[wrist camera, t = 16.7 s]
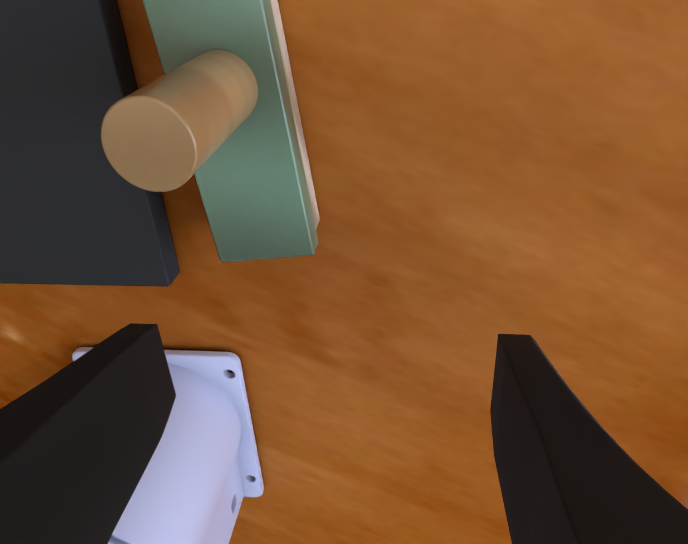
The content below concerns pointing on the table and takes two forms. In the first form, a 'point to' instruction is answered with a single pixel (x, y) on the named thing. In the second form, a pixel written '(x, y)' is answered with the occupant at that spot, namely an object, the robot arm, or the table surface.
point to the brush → (222, 126)
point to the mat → (70, 153)
